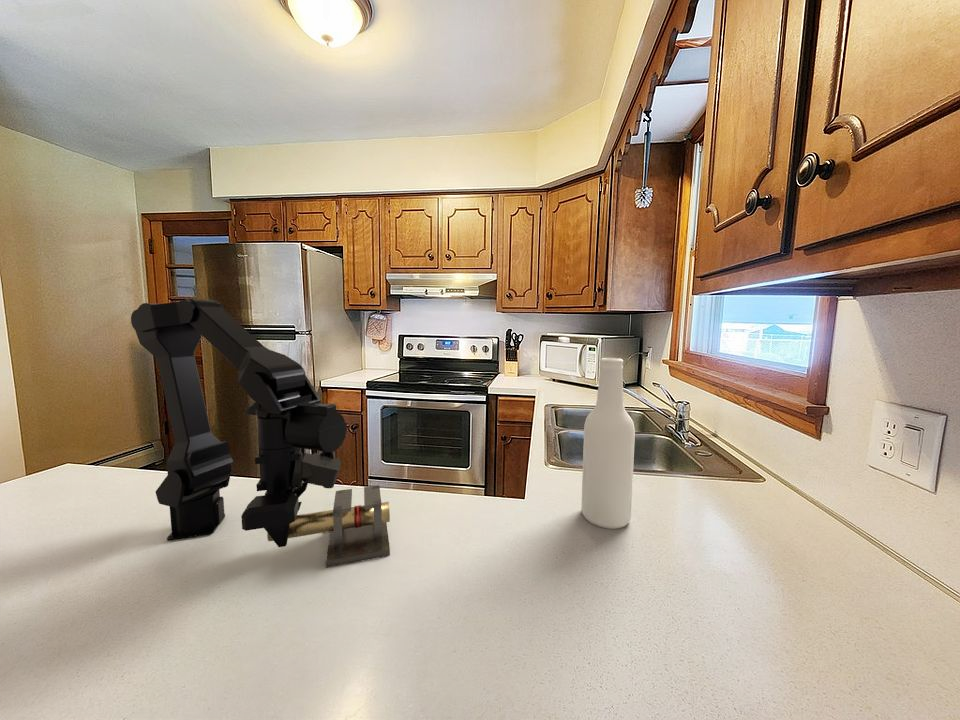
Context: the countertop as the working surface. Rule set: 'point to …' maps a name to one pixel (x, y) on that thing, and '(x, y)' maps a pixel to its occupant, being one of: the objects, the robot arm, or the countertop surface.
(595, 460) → the alcohol
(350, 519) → the tube
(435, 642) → the countertop surface
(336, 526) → the grey slotted stand
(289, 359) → the robot arm
